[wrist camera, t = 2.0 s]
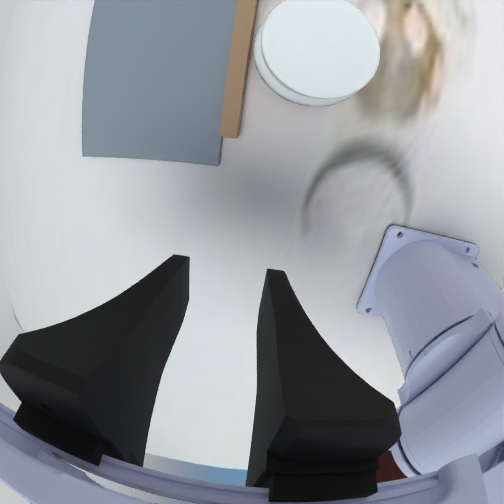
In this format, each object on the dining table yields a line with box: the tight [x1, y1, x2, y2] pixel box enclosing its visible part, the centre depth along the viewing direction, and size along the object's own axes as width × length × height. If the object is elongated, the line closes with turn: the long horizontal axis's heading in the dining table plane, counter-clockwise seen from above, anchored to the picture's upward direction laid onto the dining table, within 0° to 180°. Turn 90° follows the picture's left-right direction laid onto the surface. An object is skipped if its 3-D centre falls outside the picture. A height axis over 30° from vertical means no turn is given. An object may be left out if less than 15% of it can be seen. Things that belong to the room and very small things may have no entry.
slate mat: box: [82, 0, 258, 166], centre depth 14 cm, size 11×14×1 cm
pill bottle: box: [254, 0, 380, 106], centre depth 11 cm, size 5×5×8 cm
